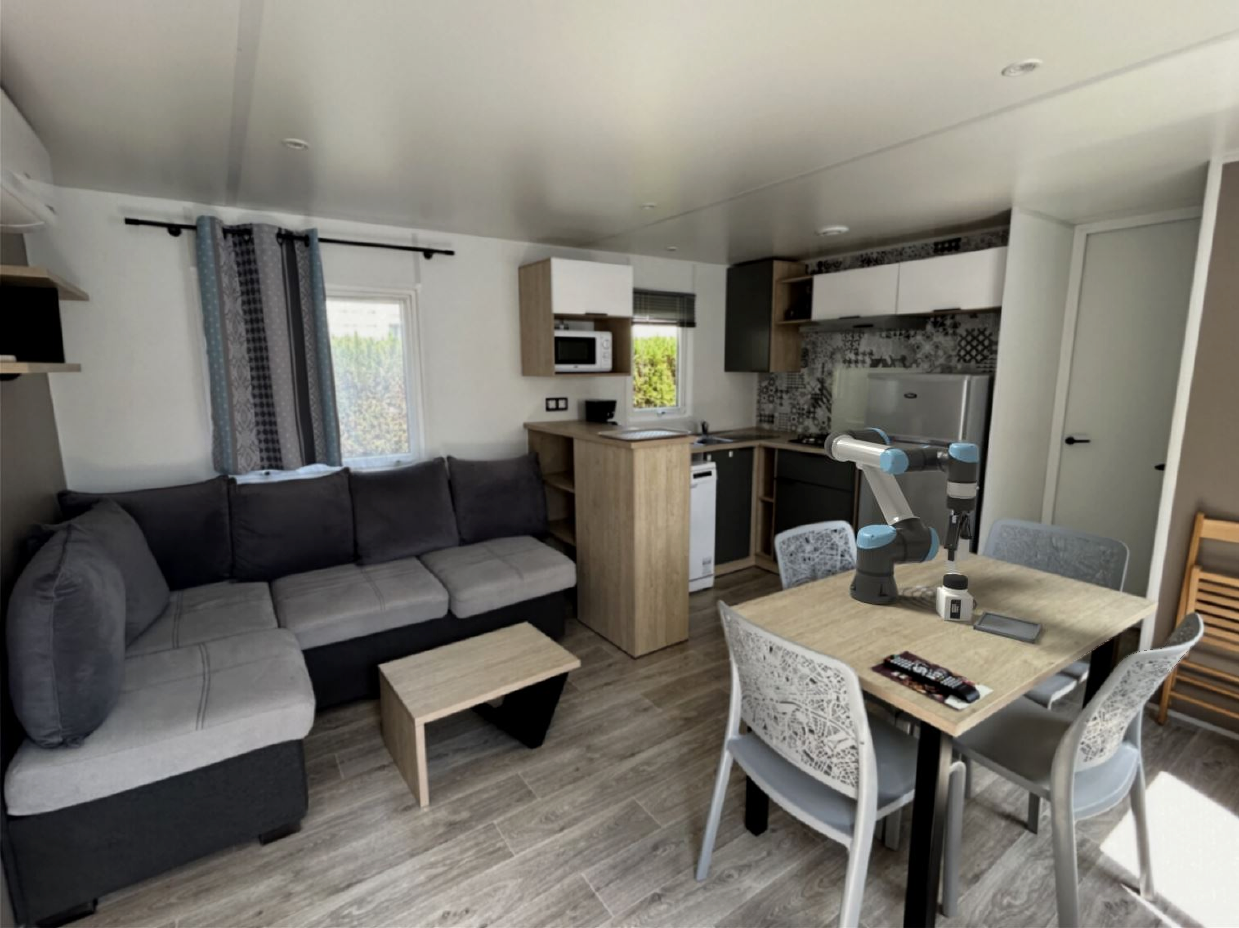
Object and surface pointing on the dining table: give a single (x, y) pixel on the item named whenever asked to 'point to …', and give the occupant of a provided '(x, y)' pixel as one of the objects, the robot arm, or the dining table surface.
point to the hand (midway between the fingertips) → (957, 565)
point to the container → (954, 598)
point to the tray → (1008, 627)
